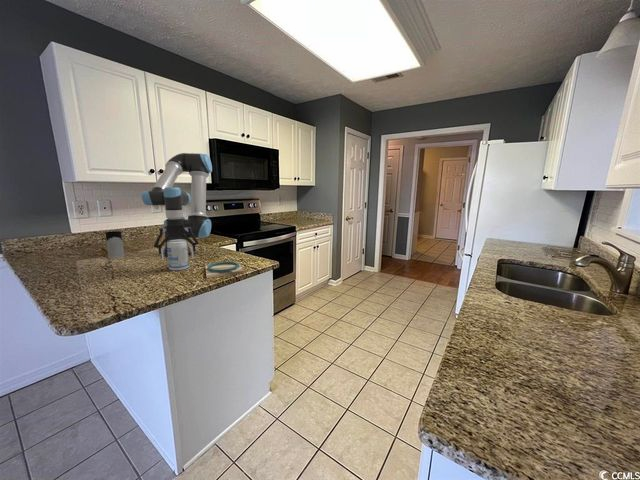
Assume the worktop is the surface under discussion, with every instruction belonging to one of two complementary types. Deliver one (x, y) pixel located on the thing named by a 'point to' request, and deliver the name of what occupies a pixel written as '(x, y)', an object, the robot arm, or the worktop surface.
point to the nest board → (223, 269)
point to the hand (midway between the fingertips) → (178, 259)
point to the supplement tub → (177, 254)
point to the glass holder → (114, 244)
